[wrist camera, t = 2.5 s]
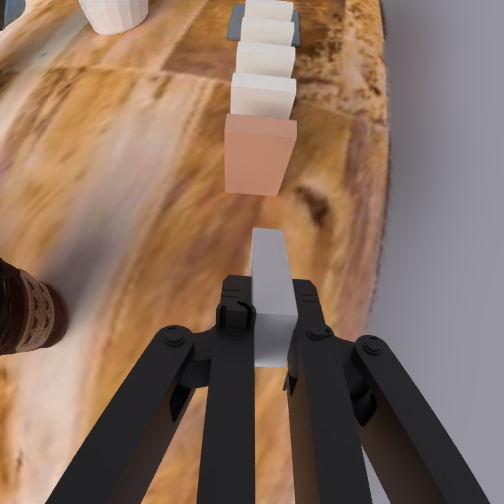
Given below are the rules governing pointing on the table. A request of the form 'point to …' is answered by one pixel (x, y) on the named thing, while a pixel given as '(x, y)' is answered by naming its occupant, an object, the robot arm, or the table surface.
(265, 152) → the domino
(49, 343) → the coffee cup
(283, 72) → the domino
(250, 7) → the domino
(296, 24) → the slate coaster
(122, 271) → the table surface
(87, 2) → the bottle
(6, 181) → the table surface
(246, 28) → the domino
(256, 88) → the domino
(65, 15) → the table surface
